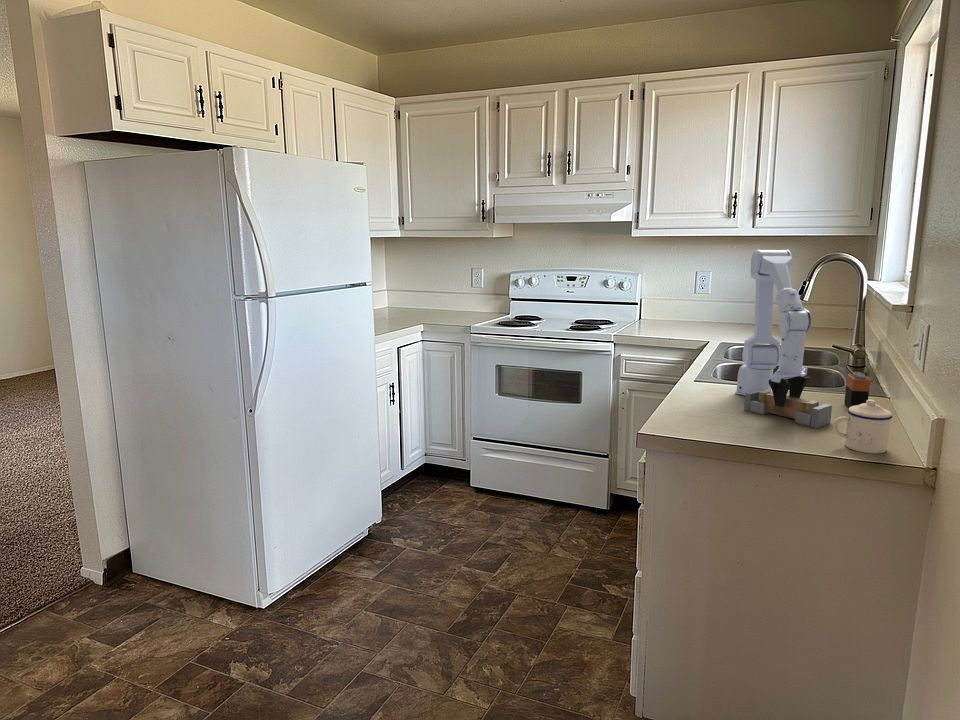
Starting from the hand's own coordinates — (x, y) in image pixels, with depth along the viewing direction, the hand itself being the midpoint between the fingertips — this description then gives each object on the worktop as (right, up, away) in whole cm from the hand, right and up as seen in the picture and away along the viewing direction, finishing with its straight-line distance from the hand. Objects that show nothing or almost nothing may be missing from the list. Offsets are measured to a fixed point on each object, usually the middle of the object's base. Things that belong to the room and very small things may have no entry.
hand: (786, 403), depth 180 cm
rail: (0, -3, 0) cm, 3 cm away
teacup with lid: (+6, -9, -24) cm, 26 cm away
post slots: (0, -3, +1) cm, 4 cm away
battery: (+24, -2, +9) cm, 25 cm away
